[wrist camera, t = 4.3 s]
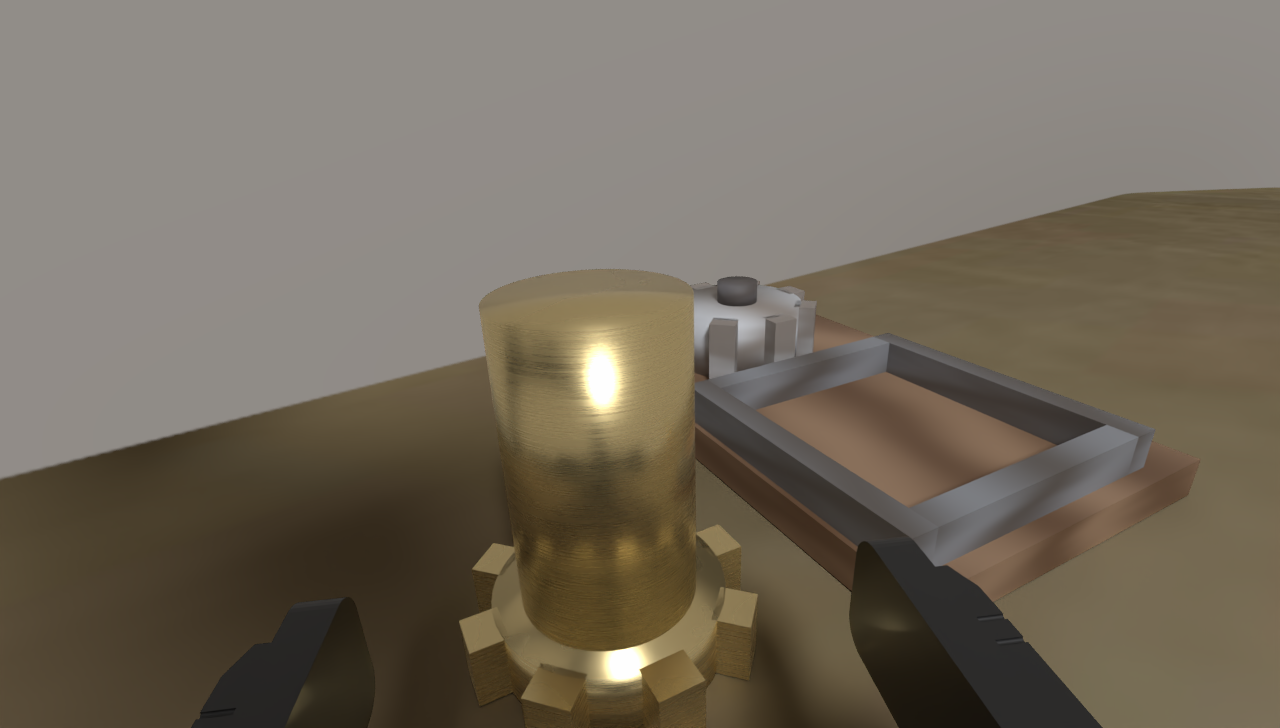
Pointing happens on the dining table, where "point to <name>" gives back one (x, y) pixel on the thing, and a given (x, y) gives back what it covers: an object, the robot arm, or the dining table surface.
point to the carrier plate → (909, 444)
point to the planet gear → (602, 512)
